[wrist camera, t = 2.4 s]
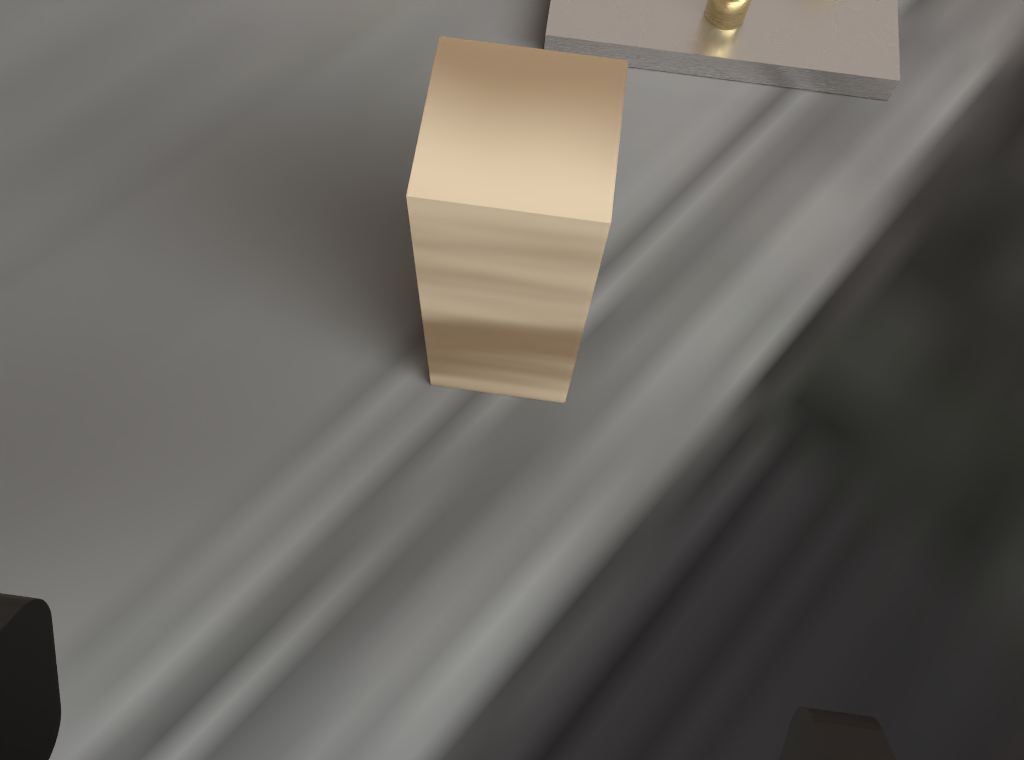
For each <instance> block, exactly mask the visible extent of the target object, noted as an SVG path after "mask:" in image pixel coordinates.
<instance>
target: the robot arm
mask: <svg viewBox="0 0 1024 760" xmlns="http://www.w3.org/2000/svg"><path fill="white" fill-rule="evenodd" d="M60 720H61V703H60V693H59V684H58V674H57V664H56V654H55V645H54V635H53V625H52V616H51V611H50V608H49V606H48V605H47V603H46V602H45V601H44V600H42V599H37V598H30V597H23V596H16V595H9V594H1V593H0V760H49V758H50V756H51V753H52V751H53V748H54V745H55V742H56V739H57V736H58V731H59V727H60ZM779 760H895V758H894V755H893V753H892V750H891V748H890V746H889V743H888V741H887V739H886V736H885V734H884V731H883V729H882V727H881V725H880V724H879V722H878V721H877V720H876V719H875V718H873V717H870V716H863V715H856V714H849V713H841V712H834V711H827V710H820V709H813V708H805V707H800V708H799V709H797V711H796V712H795V713H794V715H793V717H792V720H791V723H790V726H789V729H788V732H787V736H786V739H785V742H784V746H783V749H782V752H781V755H780V759H779Z"/></svg>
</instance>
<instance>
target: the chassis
mask: <svg viewBox="0 0 1024 760" xmlns="http://www.w3.org/2000/svg"><path fill="white" fill-rule="evenodd" d="M544 50H552V51H560V52H568V53H575V54H583V55H591V56H598V57H606V58H614V59H621V60H628V66H627V67H635V68H642V69H650V70H658V71H665V72H673V73H681V74H689V75H696V76H704V77H712V78H719V79H727V80H735V81H742V82H750V83H758V84H766V85H773V86H781V87H789V88H796V89H804V90H812V91H819V92H827V93H835V94H843V95H850V96H858V97H866V98H873V99H881V100H888V99H889V97H890V96H891V94H892V93H893V91H894V90H895V88H896V86H897V85H898V83H899V82H900V63H899V35H898V7H897V0H551V1H550V8H549V14H548V21H547V28H546V34H545V44H544Z"/></svg>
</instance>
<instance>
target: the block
mask: <svg viewBox="0 0 1024 760" xmlns="http://www.w3.org/2000/svg"><path fill="white" fill-rule="evenodd" d="M627 66H628V60H621V59H614V58H606V57H598V56H591V55H583V54H575V53H568V52H560V51H552V50H544V49H537V48H529V47H521V46H514V45H506V44H498V43H491V42H483V41H475V40H468V39H460V38H452V37H444V36H439V40H438V45H437V50H436V55H435V60H434V64H433V69H432V74H431V79H430V84H429V89H428V93H427V98H426V103H425V108H424V113H423V117H422V122H421V127H420V132H419V137H418V142H417V146H416V151H415V156H414V161H413V166H412V171H411V175H410V180H409V185H408V190H407V195H406V198H407V206H408V214H409V221H410V229H411V237H412V244H413V252H414V260H415V267H416V275H417V282H418V290H419V298H420V305H421V313H422V321H423V328H424V336H425V344H426V351H427V359H428V366H429V374H430V382H431V385H435V386H443V387H450V388H457V389H465V390H472V391H479V392H487V393H494V394H501V395H508V396H516V397H523V398H530V399H538V400H545V401H552V402H560V403H565V400H566V396H567V393H568V389H569V385H570V381H571V377H572V373H573V369H574V365H575V361H576V357H577V353H578V350H579V346H580V342H581V338H582V334H583V330H584V326H585V322H586V318H587V314H588V311H589V307H590V303H591V299H592V295H593V291H594V287H595V283H596V279H597V275H598V271H599V268H600V264H601V260H602V256H603V252H604V248H605V244H606V240H607V236H608V232H609V228H610V225H611V217H612V208H613V198H614V189H615V179H616V170H617V160H618V151H619V142H620V132H621V123H622V113H623V104H624V95H625V85H626V76H627Z"/></svg>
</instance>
